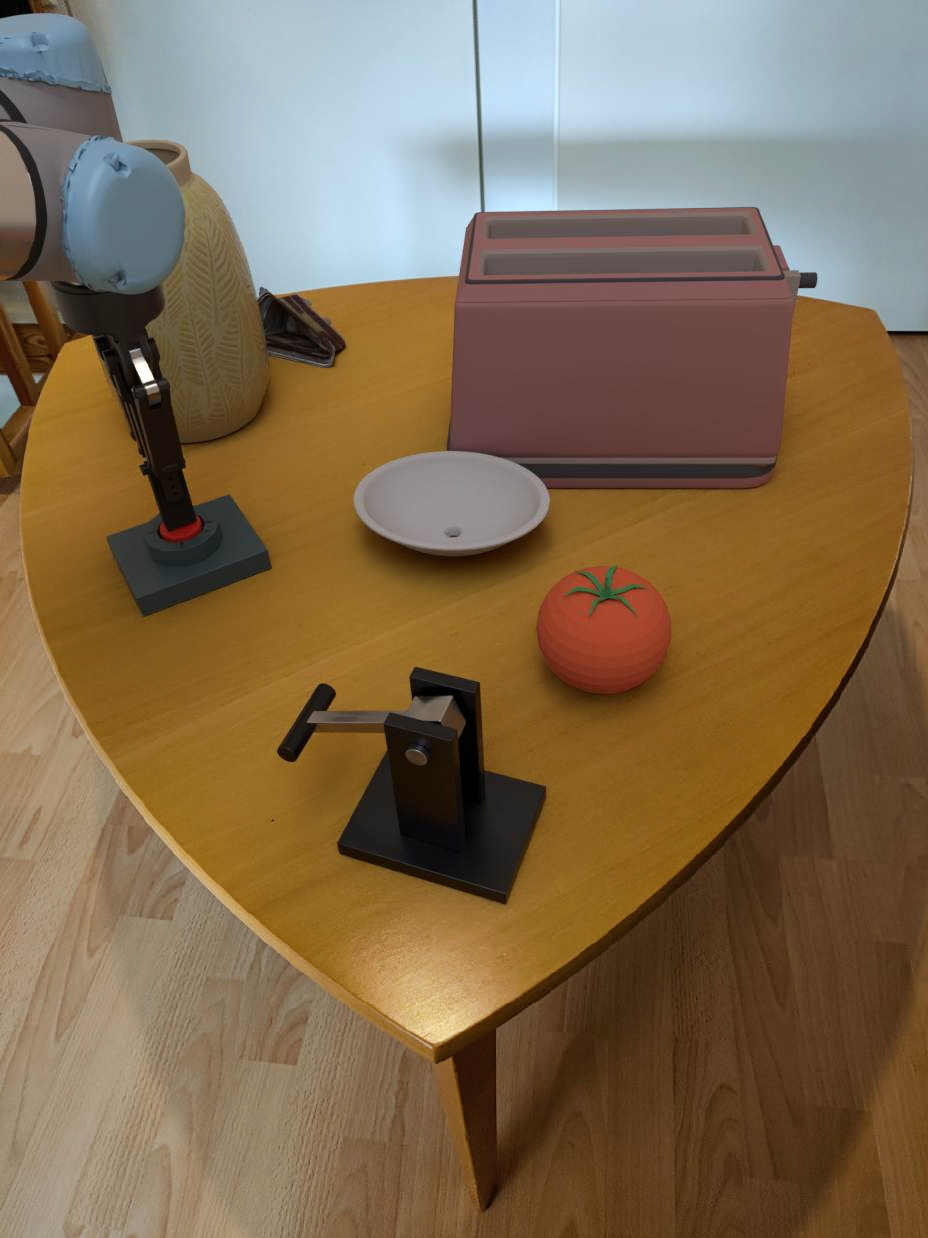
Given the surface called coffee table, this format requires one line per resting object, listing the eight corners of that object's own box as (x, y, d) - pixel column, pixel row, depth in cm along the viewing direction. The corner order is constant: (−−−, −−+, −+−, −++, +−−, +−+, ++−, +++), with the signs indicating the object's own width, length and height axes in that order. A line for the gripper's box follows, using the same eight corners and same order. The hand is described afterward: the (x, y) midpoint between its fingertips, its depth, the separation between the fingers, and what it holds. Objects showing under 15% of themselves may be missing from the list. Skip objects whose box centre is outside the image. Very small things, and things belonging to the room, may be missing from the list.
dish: (338, 580, 88) (331, 536, 85) (384, 485, 99) (378, 442, 95) (534, 603, 85) (534, 558, 82) (560, 503, 95) (561, 459, 92)
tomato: (681, 646, 81) (695, 551, 74) (643, 736, 74) (655, 641, 67) (562, 614, 84) (565, 520, 77) (515, 697, 77) (514, 603, 71)
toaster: (800, 491, 95) (847, 286, 81) (445, 490, 97) (431, 292, 83) (768, 386, 109) (804, 196, 95) (458, 388, 111) (448, 203, 97)
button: (171, 557, 88) (166, 542, 87) (159, 536, 90) (154, 520, 89) (210, 543, 89) (205, 528, 88) (197, 522, 91) (192, 507, 90)
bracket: (338, 854, 68) (310, 732, 59) (391, 755, 74) (372, 631, 65) (506, 905, 64) (502, 784, 56) (546, 797, 70) (549, 672, 62)
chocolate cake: (371, 346, 120) (314, 260, 119) (339, 357, 114) (279, 266, 113) (322, 388, 126) (267, 307, 125) (289, 401, 120) (231, 315, 119)
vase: (306, 415, 109) (260, 158, 90) (158, 474, 102) (76, 208, 83) (236, 355, 119) (181, 113, 100) (98, 405, 112) (12, 155, 94)
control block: (143, 617, 86) (130, 582, 83) (112, 554, 93) (99, 520, 90) (272, 568, 90) (264, 533, 87) (234, 511, 97) (225, 477, 94)
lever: (286, 767, 66) (269, 742, 64) (326, 702, 70) (311, 678, 68) (443, 772, 60) (428, 744, 58) (477, 700, 64) (463, 673, 62)
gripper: (178, 283, 69) (245, 546, 85) (126, 222, 77) (196, 472, 94) (70, 312, 67) (160, 577, 83) (29, 245, 75) (118, 498, 91)
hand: (179, 521), depth 88 cm, fingers closed
